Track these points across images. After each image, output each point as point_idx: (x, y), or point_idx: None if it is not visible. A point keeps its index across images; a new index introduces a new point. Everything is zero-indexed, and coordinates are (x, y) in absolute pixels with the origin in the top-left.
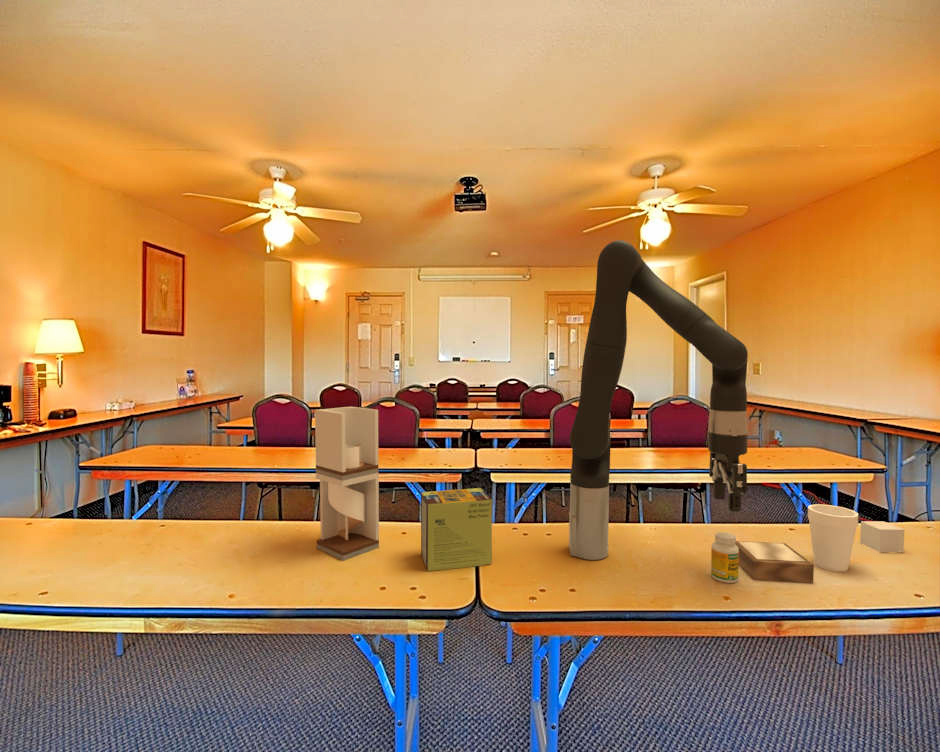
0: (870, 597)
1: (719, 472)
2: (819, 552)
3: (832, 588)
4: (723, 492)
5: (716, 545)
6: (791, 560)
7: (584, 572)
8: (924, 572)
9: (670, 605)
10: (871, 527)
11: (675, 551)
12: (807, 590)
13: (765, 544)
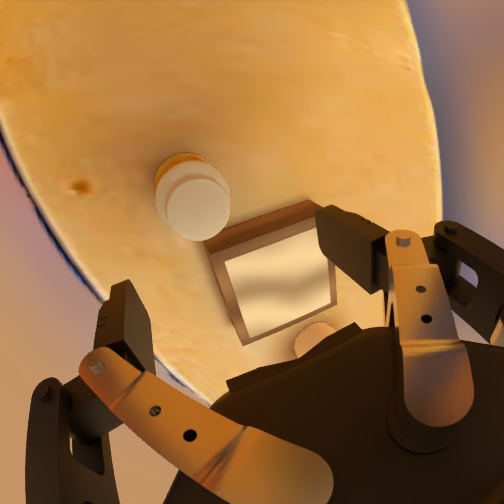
0: (214, 376)
1: (358, 343)
2: (313, 344)
3: (224, 344)
4: (338, 262)
5: (174, 177)
6: (244, 319)
7: None
8: None
9: (6, 93)
10: None
11: (304, 81)
12: (196, 317)
13: (320, 276)
